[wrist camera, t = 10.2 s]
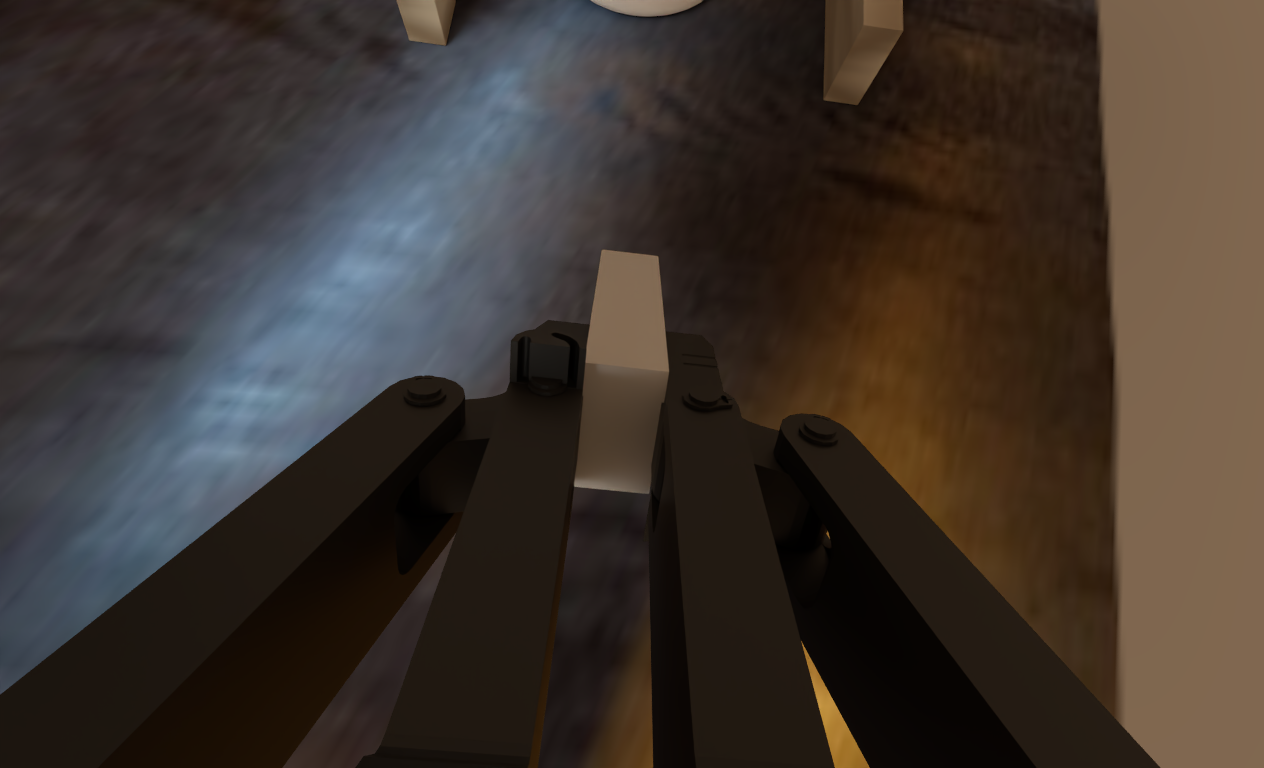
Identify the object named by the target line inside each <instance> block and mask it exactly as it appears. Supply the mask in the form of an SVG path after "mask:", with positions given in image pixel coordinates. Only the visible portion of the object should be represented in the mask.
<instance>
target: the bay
mask: <svg viewBox="0 0 1264 768" xmlns="http://www.w3.org/2000/svg"><path fill="white" fill-rule="evenodd" d="M397 3H398V6H399V10H400V13H401V16H402V19H403V22H404V25H405V28H406V31H407V34H408V37H409V40H410V41H417V42H424V43H431V44H438V45H445V46H446V44H447V39H448V34H449V30H450V25H451V21H452V16H453V12H454V7H455V3H456V0H397ZM902 32H903V0H826V8H825V52H824V96H823V100H825V101H832V102H839V103H846V104H853V105H858V104H859V102H860V100H861V99H862V97H863V96H864V94H865V92H866V91H867V89H868V87H869V86H870V84H871V83H872V81H873V79H874V78H875V76H876V74H877V73H878V71H879V70H880V68H881V66H882V65H883V63H884V61H885V60H886V58H887V57H888V55H889V53H890V52H891V50H892V48H893V47H894V45H895V44H896V42H897V40H898V39H899V37H900V35H901V34H902Z"/></svg>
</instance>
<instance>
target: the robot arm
mask: <svg viewBox="0 0 1264 768" xmlns="http://www.w3.org/2000/svg"><path fill="white" fill-rule="evenodd" d="M651 478H652V491H651V497H650V503H649V509H648V515H647V521H646V527H645V533H644V539H643V541H649V573H650V623H651V673H652V723H653V768H835V767H834V763H833V759H832V755H831V752H830V748H829V744H828V740H827V737H826V733H825V729H824V725H823V722H822V718H821V714H820V710H819V707H818V703H817V699H816V695H815V692H814V688H813V684H812V680H811V677H810V673H809V669H808V665H807V661H806V658H805V654H804V650H803V646H802V643H803V645H804V647H805V648H806V650H807V652H808V654H809V656H810V658H811V660H812V661H813V663H814V665H815V667H816V669H817V671H818V673H819V674H820V676H821V678H822V680H823V682H824V684H825V685H826V687H827V689H828V691H829V693H830V695H831V697H832V698H833V700H834V702H835V704H836V706H837V708H838V710H839V711H840V713H841V715H842V717H843V719H844V721H845V722H846V724H847V726H848V728H849V730H850V732H851V734H852V735H853V737H854V739H855V741H856V743H857V745H858V747H859V748H860V750H861V752H862V754H863V756H864V758H865V760H866V761H867V763H868V765H869V767H870V768H1160V767H1159V766H1158V765H1157V764H1156V763H1155V761H1154V760H1153V759H1152V758H1151V757H1150V756H1149V755H1148V754H1147V753H1146V752H1145V751H1144V749H1143V748H1142V747H1141V746H1140V745H1139V744H1138V743H1137V742H1136V741H1135V740H1134V739H1133V738H1132V737H1131V735H1130V734H1129V733H1128V732H1127V731H1126V730H1125V729H1124V728H1123V727H1122V726H1121V724H1120V723H1119V722H1118V721H1117V720H1116V719H1115V718H1114V717H1113V716H1112V715H1111V714H1110V713H1109V711H1108V710H1107V709H1106V708H1105V707H1104V706H1103V705H1102V704H1101V703H1100V702H1099V701H1098V700H1097V698H1096V697H1095V696H1094V695H1093V694H1092V693H1091V692H1090V691H1089V690H1088V689H1087V688H1086V686H1085V685H1084V684H1083V683H1082V682H1081V681H1080V680H1079V679H1078V678H1077V677H1076V676H1075V675H1074V673H1073V672H1072V671H1071V670H1070V669H1069V668H1068V667H1067V666H1066V665H1065V664H1064V663H1063V662H1062V660H1061V659H1060V658H1059V657H1058V656H1057V655H1056V654H1055V653H1054V652H1053V651H1052V650H1051V649H1050V647H1049V646H1048V645H1047V644H1046V643H1045V642H1044V641H1043V640H1042V639H1041V638H1040V637H1039V635H1038V634H1037V633H1036V632H1035V631H1034V630H1033V629H1032V628H1031V627H1030V626H1029V625H1028V624H1027V622H1026V621H1025V620H1024V619H1023V618H1022V617H1021V616H1020V615H1019V614H1018V613H1017V612H1016V611H1015V609H1014V608H1013V607H1012V606H1011V605H1010V604H1009V603H1008V602H1007V601H1006V600H1005V599H1004V598H1003V596H1002V595H1001V594H1000V593H999V592H998V591H997V590H996V589H995V588H994V587H993V586H992V584H991V583H990V582H989V581H988V580H987V579H986V578H985V577H984V576H983V575H982V574H981V573H980V571H979V570H978V569H977V568H976V567H975V566H974V565H973V564H972V563H971V562H970V561H969V560H968V558H967V557H966V556H965V555H964V554H963V553H962V552H961V551H960V550H959V549H958V548H957V546H956V545H955V544H954V543H953V542H952V541H951V540H950V539H949V538H948V537H947V536H946V535H945V533H944V532H943V531H942V530H941V529H940V528H939V527H938V526H937V525H936V524H935V523H934V522H933V520H932V519H931V518H930V517H929V516H928V515H927V514H926V513H925V512H924V511H923V510H922V509H921V507H920V506H919V505H918V504H917V503H916V502H915V501H914V500H913V499H912V498H911V497H910V495H909V494H908V493H907V492H906V491H905V490H904V489H903V488H902V487H901V486H900V485H899V484H898V482H897V481H896V480H895V479H894V478H893V477H892V476H891V475H890V474H889V473H888V472H887V471H886V469H885V468H884V467H883V466H882V465H881V464H880V463H879V462H878V461H877V460H876V459H875V458H874V456H873V455H872V454H871V453H870V452H869V451H868V450H867V449H866V448H865V447H864V446H863V444H862V443H861V442H860V441H859V440H858V439H857V438H856V437H855V436H854V435H853V434H852V433H851V432H850V431H849V430H848V429H846V428H845V427H844V426H843V425H841V424H839V423H837V422H835V421H833V420H831V419H830V418H828V417H824V416H822V417H821V415H816V414H795V415H790V416H788V417H787V418H785V419H783V420H782V424H781V427H780V430H779V431H777V430H774V429H770V428H767V427H763V426H760V425H757V424H754V423H751V422H749V421H747V420H745V419H743V418H742V417H741V413H740V410H739V406H738V404H737V403H736V401H735V399H734V398H733V397H731V396H730V395H729V394H727V393H726V392H724V391H723V387H722V383H721V379H720V375H719V370H718V368H717V362H716V359H715V354H714V350H713V346H712V345H711V344H710V343H709V342H708V341H707V340H706V339H705V338H704V337H702V336H701V335H692V334H683V333H674V332H666V331H665V323H664V313H663V302H662V292H661V281H660V271H659V260H658V256H653V255H644V254H636V253H627V252H619V251H610V250H602V252H601V258H600V265H599V271H598V277H597V284H596V290H595V296H594V303H593V309H592V315H591V322H590V325H588V324H579V323H570V322H561V321H552V320H548V321H546V322H545V323H543V324H542V325H540V326H539V327H537V328H536V329H535V330H528V331H524V332H522V333H520V334H517V335H516V336H515V337H514V338H513V339H512V340H511V358H510V383H509V386H508V388H507V391H506V392H505V393H503V394H501V395H497V396H493V397H488V398H481V399H467V400H465V394H464V390H463V388H462V387H461V386H460V385H458V384H457V383H456V382H454V381H451V380H448V379H446V378H441V377H434V376H415V377H412V378H408V379H404V380H401V381H399V382H397V383H395V384H393V385H391V386H389V387H388V388H387V389H386V390H384V391H383V392H382V393H381V394H379V395H378V396H377V397H376V398H374V399H373V400H372V401H371V402H369V403H368V404H367V405H365V406H364V407H363V408H362V409H360V410H359V411H358V412H357V413H355V414H354V415H353V416H352V417H350V418H349V419H348V420H347V421H345V422H344V423H343V424H341V425H340V426H339V427H338V428H336V429H335V430H334V431H333V432H331V433H330V434H329V435H328V436H326V437H325V438H324V439H323V440H321V441H320V442H319V443H317V444H316V445H315V446H314V447H312V448H311V449H310V450H309V451H307V452H306V453H305V454H304V455H302V456H301V457H300V458H299V459H297V460H296V461H295V462H294V463H292V464H291V465H290V466H288V467H287V468H286V469H285V470H283V471H282V472H281V473H280V474H278V475H277V476H276V477H275V478H273V479H272V480H271V481H270V482H268V483H267V484H266V485H264V486H263V487H262V488H261V489H259V490H258V491H257V492H256V493H254V494H253V495H252V496H251V497H249V498H248V499H247V500H246V501H244V502H243V503H242V504H240V505H239V506H238V507H237V508H235V509H234V510H233V511H232V512H230V513H229V514H228V515H227V516H225V517H224V518H223V519H222V520H220V521H219V522H218V523H216V524H215V525H214V526H213V527H211V528H210V529H209V530H208V531H206V532H205V533H204V534H203V535H201V536H200V537H199V538H198V539H196V540H195V541H194V542H193V543H191V544H190V545H189V546H187V547H186V548H185V549H184V550H182V551H181V552H180V553H179V554H177V555H176V556H175V557H174V558H172V559H171V560H170V561H169V562H167V563H166V564H165V565H163V566H162V567H161V568H160V569H158V570H157V571H156V572H155V573H153V574H152V575H151V576H150V577H148V578H147V579H146V580H145V581H143V582H142V583H141V584H139V585H138V586H137V587H136V588H134V589H133V590H132V591H131V592H129V593H128V594H127V595H126V596H124V597H123V598H122V599H121V600H119V601H118V602H117V603H115V604H114V605H113V606H112V607H110V608H109V609H108V610H107V611H105V612H104V613H103V614H102V615H100V616H99V617H98V618H97V619H95V620H94V621H93V622H92V623H90V624H89V625H88V626H86V627H85V628H84V629H83V630H81V631H80V632H79V633H78V634H76V635H75V636H74V637H73V638H71V639H70V640H69V641H68V642H66V643H65V644H64V645H62V646H61V647H60V648H59V649H57V650H56V651H55V652H54V653H52V654H51V655H50V656H49V657H47V658H46V659H45V660H44V661H42V662H41V663H40V664H38V665H37V666H36V667H35V668H33V669H32V670H31V671H30V672H28V673H27V674H26V675H25V676H23V677H22V678H21V679H20V680H18V681H17V682H16V683H15V684H13V685H12V686H11V687H9V688H8V689H7V690H6V691H4V692H3V693H2V694H1V695H0V768H282V767H283V766H284V765H285V763H286V762H287V761H288V759H289V758H290V756H291V755H292V754H293V752H294V751H295V750H296V748H297V747H298V746H299V744H300V743H301V742H302V740H303V739H304V738H305V736H306V735H307V733H308V732H309V731H310V729H311V728H312V727H313V725H314V724H315V723H316V721H317V720H318V719H319V717H320V716H321V715H322V713H323V712H324V710H325V709H326V708H327V706H328V705H329V704H330V702H331V701H332V700H333V698H334V697H335V696H336V694H337V693H338V692H339V690H340V689H341V687H342V686H343V685H344V683H345V682H346V681H347V679H348V678H349V677H350V675H351V674H352V673H353V671H354V670H355V668H356V667H357V666H358V664H359V663H360V662H361V660H362V659H363V658H364V656H365V655H366V654H367V652H368V651H369V650H370V648H371V647H372V645H373V644H374V643H375V641H376V640H377V639H378V637H379V636H380V635H381V633H382V632H383V631H384V629H385V628H386V627H387V625H388V624H389V622H390V621H391V620H392V618H393V617H394V616H395V614H396V613H397V612H398V610H399V609H400V608H401V606H402V605H403V604H404V602H405V601H406V599H407V598H408V597H409V595H410V594H411V593H412V591H413V590H414V589H415V587H416V586H417V585H418V583H419V582H420V581H421V579H422V578H423V576H424V575H425V574H426V572H427V571H428V570H429V568H430V567H431V566H432V564H433V563H434V562H435V560H436V559H437V557H438V556H439V555H440V553H441V552H442V551H443V549H444V548H445V547H446V545H447V544H448V543H449V541H450V540H451V539H452V537H453V536H454V534H455V533H456V535H455V538H454V541H453V544H452V547H451V549H450V552H449V555H448V558H447V561H446V563H445V566H444V569H443V572H442V575H441V578H440V580H439V583H438V586H437V589H436V592H435V595H434V597H433V600H432V603H431V606H430V609H429V611H428V614H427V617H426V620H425V623H424V626H423V628H422V631H421V634H420V637H419V640H418V643H417V645H416V648H415V651H414V654H413V657H412V659H411V662H410V665H409V668H408V671H407V674H406V676H405V679H404V682H403V685H402V688H401V691H400V693H399V696H398V699H397V702H396V705H395V707H394V710H393V713H392V716H391V719H390V722H389V724H388V727H387V730H386V733H385V735H384V738H383V740H382V742H381V745H380V747H379V748H378V750H377V751H376V753H375V754H372V755H368V756H364V757H363V758H362V759H361V761H360V762H359V764H358V765H357V766H356V768H538V761H539V753H540V745H541V738H542V730H543V723H544V715H545V707H546V700H547V692H548V685H549V677H550V669H551V662H552V654H553V646H554V639H555V631H556V624H557V616H558V608H559V601H560V593H561V586H562V578H563V570H564V563H565V555H566V548H567V540H568V532H569V525H570V517H571V509H572V501H573V491H574V487H583V488H593V489H604V490H614V491H624V492H634V493H644V494H649V490H650V484H651ZM827 531H828V533H829V536H830V538H829V537H828V536H827V534H826V533H827ZM801 641H802V643H801Z"/></svg>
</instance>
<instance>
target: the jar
mask: <svg viewBox="0 0 1264 768" xmlns="http://www.w3.org/2000/svg"><path fill="white" fill-rule="evenodd" d="M590 1H592V2H593V3H595V4H597V5H599V6H602V7H604V8H606V9H609V10H612V11H615V12H619V13H623V14H627V15H633V16H645V17H652V16H664V15H670V14H674V13H678V12H681V11H684V10H687V9H689V8H691V7H693V6H695V5H697V4H699V3H701V2H702V1H704V0H590Z"/></svg>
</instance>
